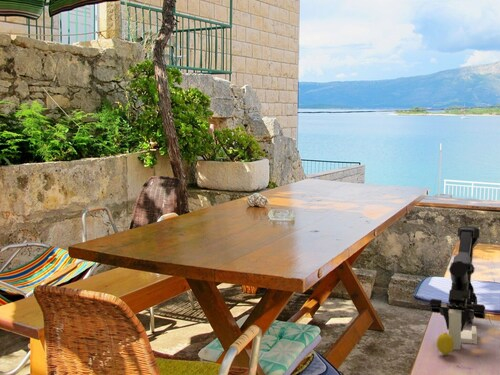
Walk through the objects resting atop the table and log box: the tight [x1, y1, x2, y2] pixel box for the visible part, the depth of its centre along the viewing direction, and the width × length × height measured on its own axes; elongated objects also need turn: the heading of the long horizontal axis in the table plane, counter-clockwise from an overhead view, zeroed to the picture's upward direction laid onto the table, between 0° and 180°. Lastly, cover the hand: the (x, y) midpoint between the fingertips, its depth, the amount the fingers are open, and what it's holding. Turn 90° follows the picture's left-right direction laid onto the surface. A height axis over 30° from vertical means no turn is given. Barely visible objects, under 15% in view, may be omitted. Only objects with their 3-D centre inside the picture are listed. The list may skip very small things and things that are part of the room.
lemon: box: [436, 332, 454, 356], centre depth 204 cm, size 6×6×8 cm
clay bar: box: [448, 309, 462, 350], centre depth 211 cm, size 4×4×13 cm
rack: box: [461, 325, 478, 345], centre depth 219 cm, size 9×9×4 cm
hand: (454, 330), depth 210 cm, fingers closed on clay bar, 4 cm apart
